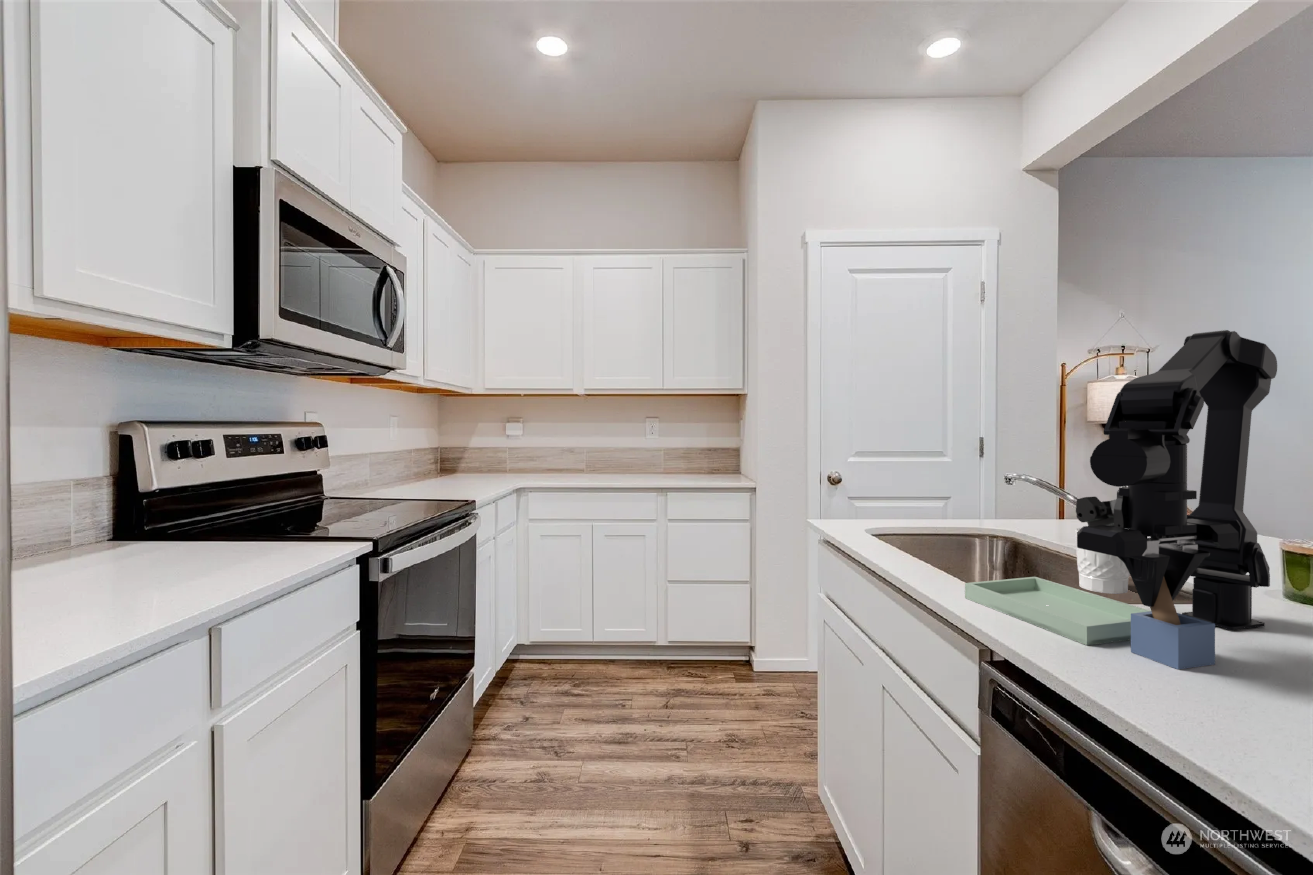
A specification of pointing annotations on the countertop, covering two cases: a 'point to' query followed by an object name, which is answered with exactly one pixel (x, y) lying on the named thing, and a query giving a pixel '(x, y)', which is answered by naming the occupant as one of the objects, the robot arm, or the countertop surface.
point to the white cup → (1101, 571)
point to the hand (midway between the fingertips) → (1156, 605)
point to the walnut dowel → (1165, 606)
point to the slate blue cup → (1173, 640)
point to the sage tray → (1057, 608)
